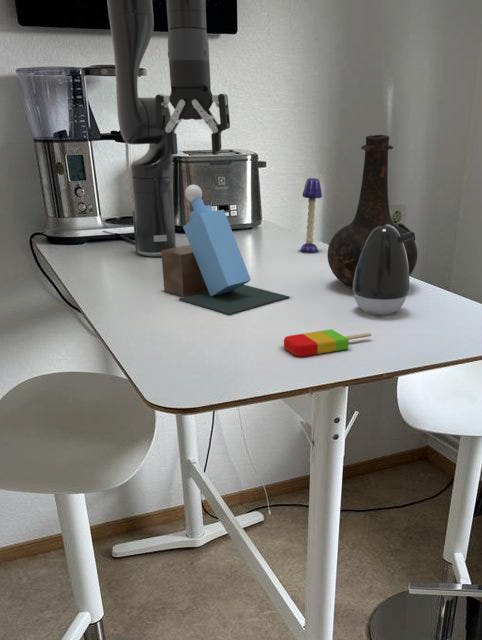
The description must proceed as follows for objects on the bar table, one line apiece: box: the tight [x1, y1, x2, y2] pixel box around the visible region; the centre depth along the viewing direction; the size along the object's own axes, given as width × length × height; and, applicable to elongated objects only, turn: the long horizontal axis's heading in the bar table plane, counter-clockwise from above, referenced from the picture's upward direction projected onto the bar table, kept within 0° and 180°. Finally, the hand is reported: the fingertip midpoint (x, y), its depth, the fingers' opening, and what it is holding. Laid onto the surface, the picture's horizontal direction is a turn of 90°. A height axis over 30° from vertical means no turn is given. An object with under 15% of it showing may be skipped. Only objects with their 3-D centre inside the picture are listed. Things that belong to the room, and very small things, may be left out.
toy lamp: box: [300, 177, 323, 254], centre depth 168 cm, size 5×5×17 cm
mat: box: [178, 284, 290, 316], centre depth 135 cm, size 14×16×1 cm
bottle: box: [182, 184, 252, 297], centre depth 133 cm, size 14×6×19 cm, turn 47°
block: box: [161, 244, 208, 298], centre depth 139 cm, size 6×12×8 cm, turn 137°
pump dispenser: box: [352, 224, 416, 316], centre depth 124 cm, size 10×10×15 cm
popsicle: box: [283, 328, 372, 358], centre depth 111 cm, size 6×15×2 cm, turn 116°
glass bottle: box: [326, 134, 418, 289], centre depth 136 cm, size 18×18×28 cm
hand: (194, 154), depth 137 cm, fingers open, 8 cm apart
